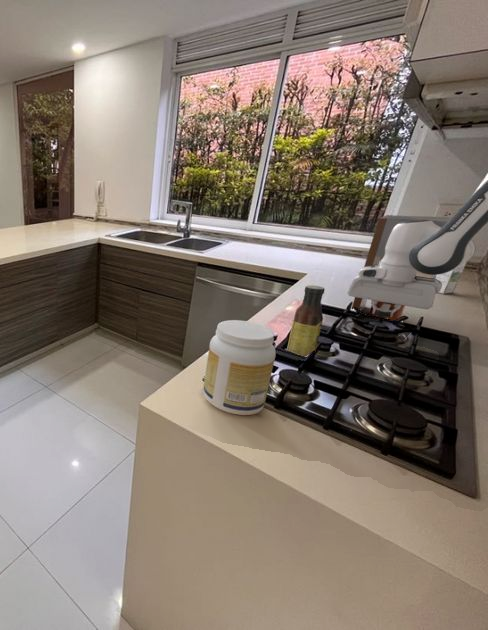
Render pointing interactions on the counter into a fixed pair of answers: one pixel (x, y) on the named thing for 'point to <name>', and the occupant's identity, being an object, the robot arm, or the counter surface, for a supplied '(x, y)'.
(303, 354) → the sauce bottle
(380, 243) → the flag
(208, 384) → the supplement tub
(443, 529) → the counter surface
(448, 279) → the syrup box
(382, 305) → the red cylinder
